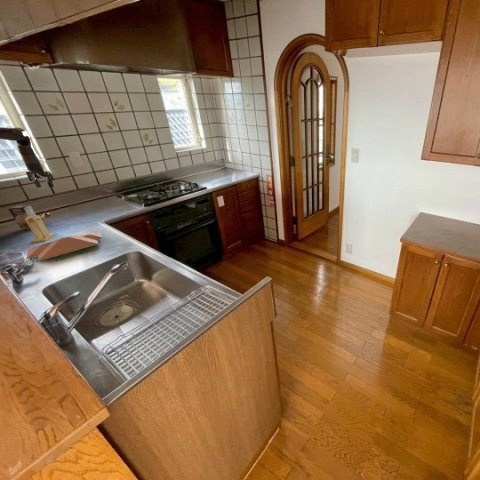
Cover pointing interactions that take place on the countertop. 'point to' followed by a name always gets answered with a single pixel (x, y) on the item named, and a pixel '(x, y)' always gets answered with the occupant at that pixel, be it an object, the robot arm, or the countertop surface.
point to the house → (64, 246)
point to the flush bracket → (39, 229)
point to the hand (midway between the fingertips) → (45, 187)
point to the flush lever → (45, 215)
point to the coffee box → (22, 215)
